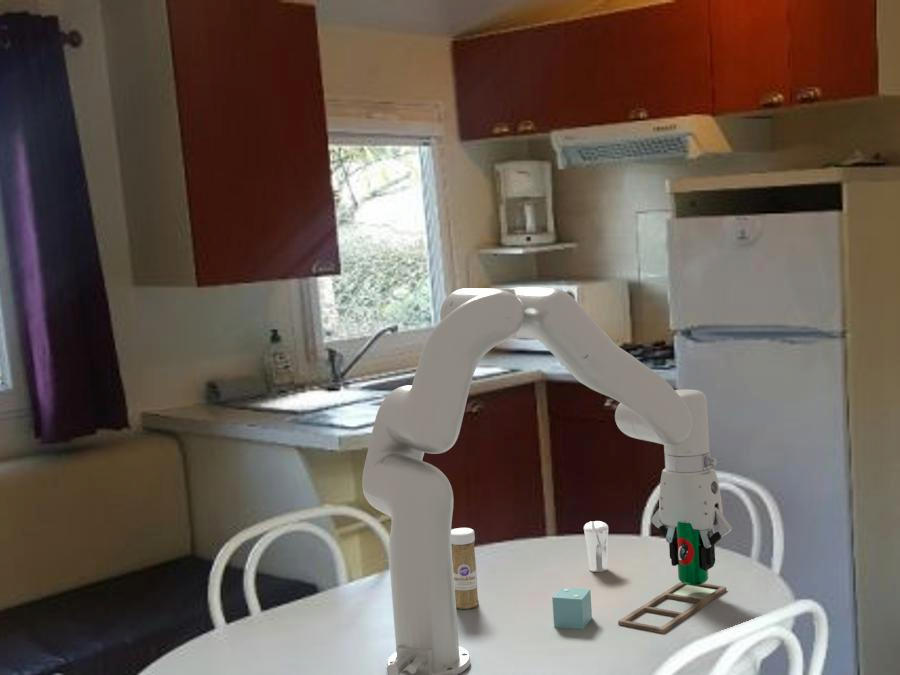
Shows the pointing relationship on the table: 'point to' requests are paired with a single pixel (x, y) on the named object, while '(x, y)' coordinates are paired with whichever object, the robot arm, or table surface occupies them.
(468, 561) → the sprinkles bottle
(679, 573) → the soda can
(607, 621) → the table surface
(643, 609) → the wooden frame
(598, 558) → the milkshake
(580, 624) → the die
